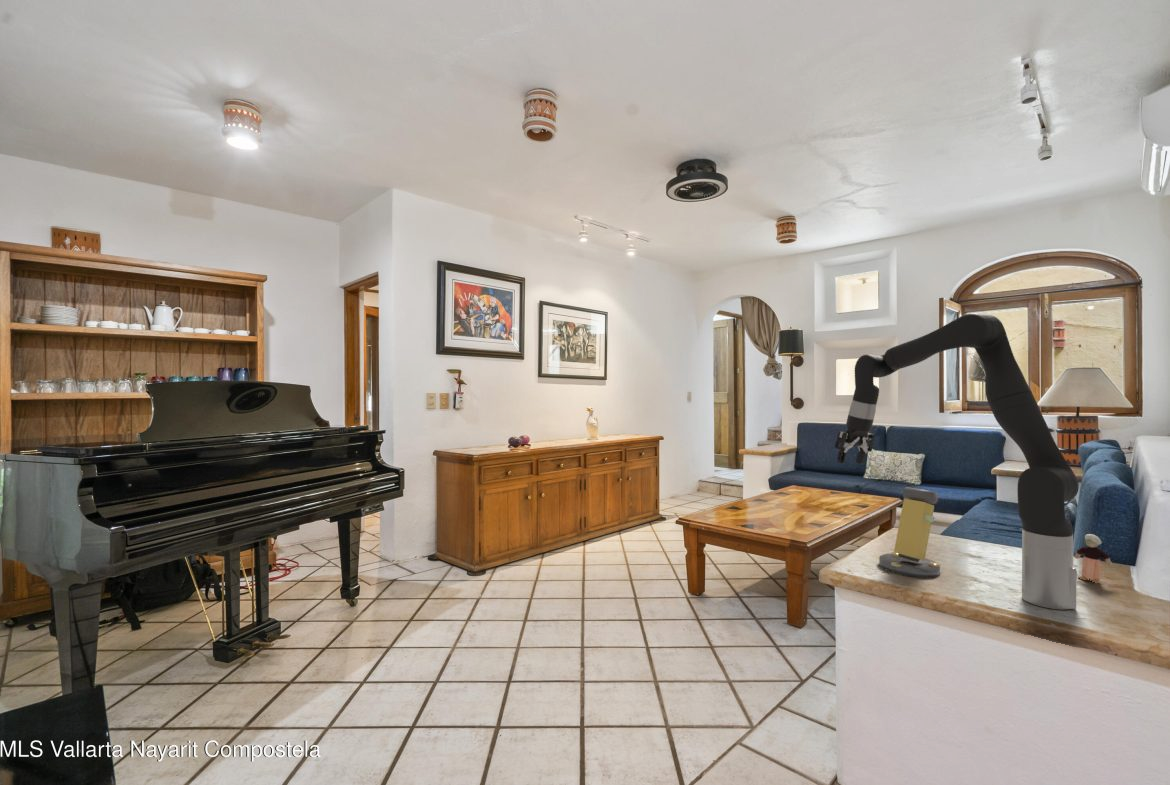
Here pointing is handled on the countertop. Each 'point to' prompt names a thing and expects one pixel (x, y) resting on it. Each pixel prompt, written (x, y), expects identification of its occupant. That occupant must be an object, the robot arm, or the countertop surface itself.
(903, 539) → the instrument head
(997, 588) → the countertop surface
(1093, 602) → the countertop surface
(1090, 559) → the grandmother figurine
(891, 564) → the levelling base
